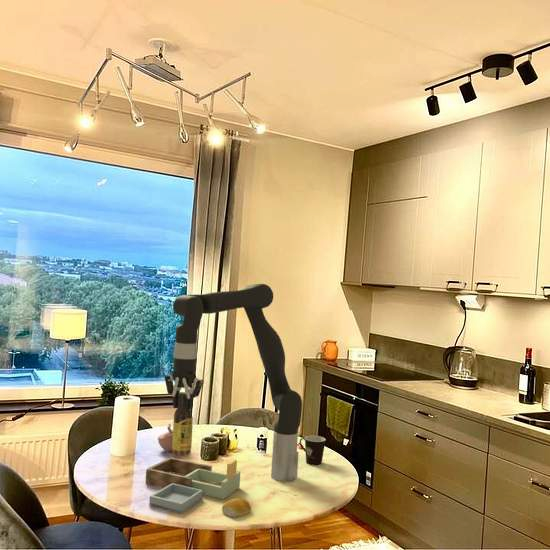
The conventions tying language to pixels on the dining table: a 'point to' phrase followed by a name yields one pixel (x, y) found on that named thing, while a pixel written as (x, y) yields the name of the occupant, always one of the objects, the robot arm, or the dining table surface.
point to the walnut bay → (163, 478)
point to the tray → (176, 498)
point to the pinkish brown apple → (166, 440)
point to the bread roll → (236, 507)
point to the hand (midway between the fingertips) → (182, 408)
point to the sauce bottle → (182, 428)
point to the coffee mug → (314, 449)
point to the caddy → (217, 481)
